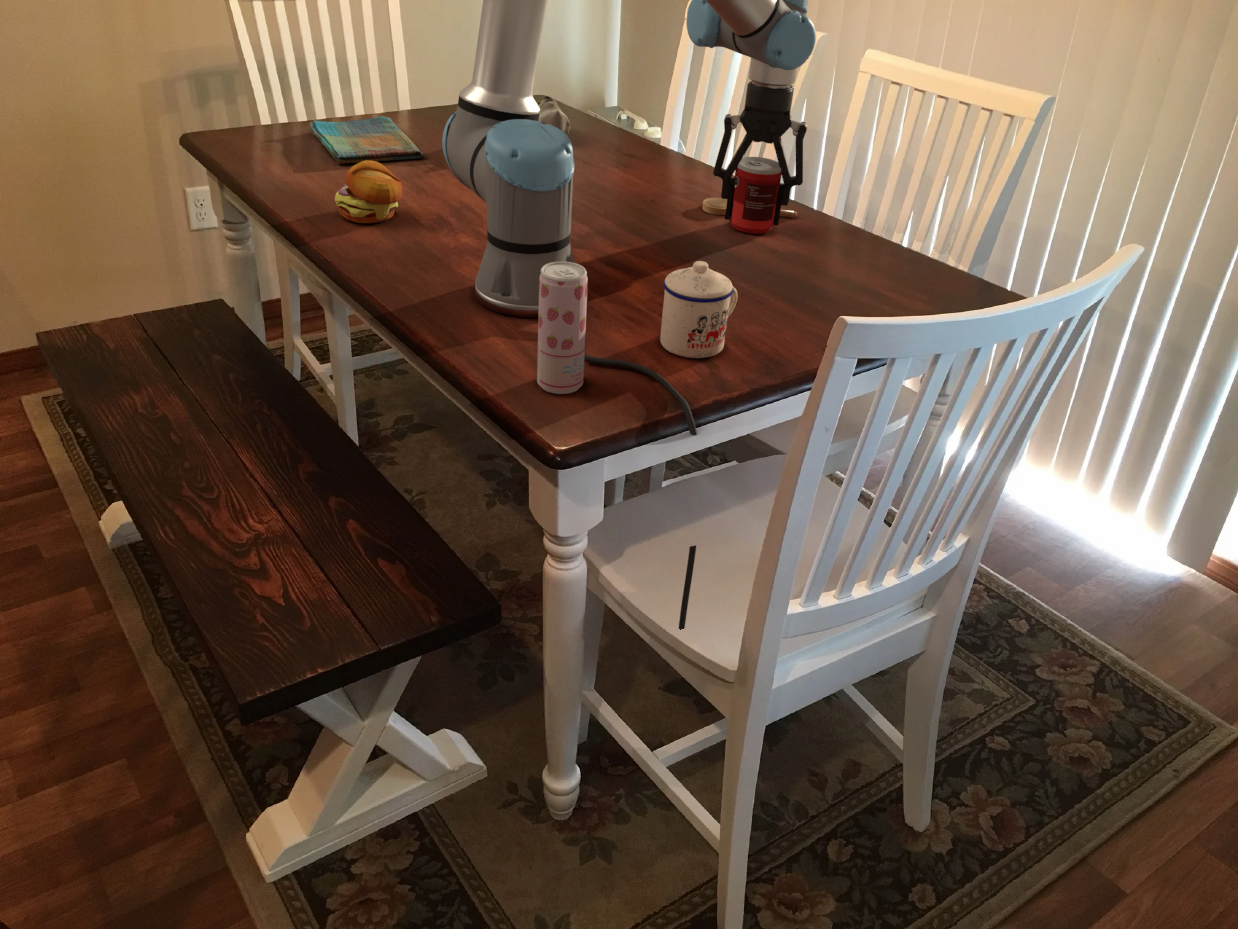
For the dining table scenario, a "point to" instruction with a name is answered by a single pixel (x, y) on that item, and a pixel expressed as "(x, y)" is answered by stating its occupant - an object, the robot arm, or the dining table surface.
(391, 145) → the dish towel
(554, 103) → the ceramic sculpture
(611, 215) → the dining table surface
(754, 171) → the canned food
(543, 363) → the beverage can
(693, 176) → the dining table surface
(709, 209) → the spoon
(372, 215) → the cheeseburger
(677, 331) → the teacup with lid
